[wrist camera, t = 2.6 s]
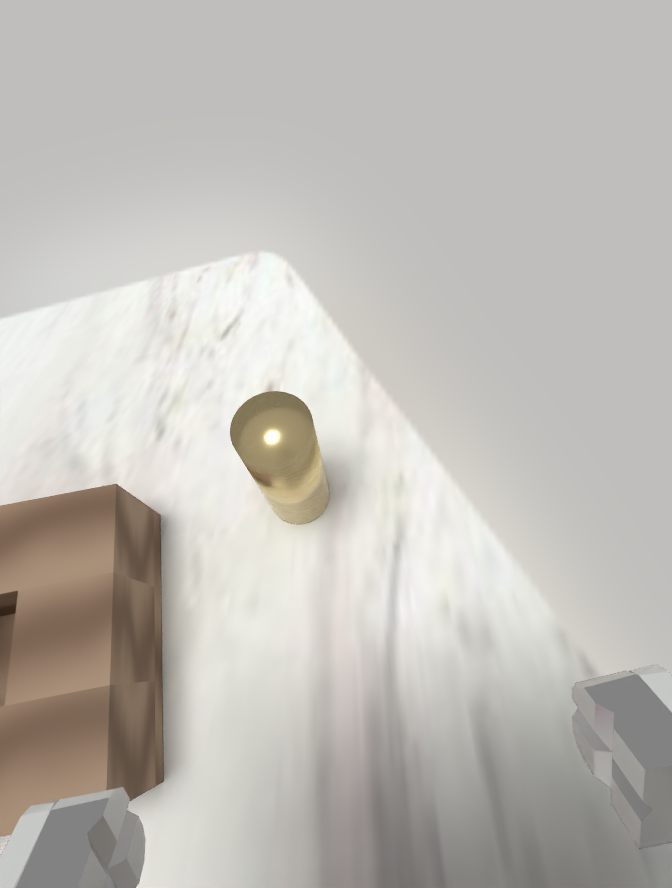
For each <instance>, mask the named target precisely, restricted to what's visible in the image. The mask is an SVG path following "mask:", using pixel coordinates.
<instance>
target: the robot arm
mask: <svg viewBox="0 0 672 888" xmlns="http://www.w3.org/2000/svg"><path fill="white" fill-rule="evenodd" d="M572 699H573V701H574V702H575V704H576V705H577V706H578V710H577V711H576V713H575V714H574V715H573V717H572V721H573V732H574V736H575V739H576V742H577V745H578V748H579V750H580V752H581V754H582V757H583V759H584V761H585V763H586V764H587V766H588V767H589V769H590V771H591V772H592V774H593V776H594V777H595V778H597V779H598V780H600V781H602V782H603V783H605V784H606V785H608V786H609V787H611V805H612V806H613V808H614V809H615V811H616V813H617V814H618V816H619V817H620V819H621V821H622V822H623V824H624V825H625V827H626V828H627V830H628V832H629V833H630V835H631V836H632V838H633V840H634V841H635V843H636V844H637V846H638V847H639V849H642V848H647V847H652V846H657V845H662V844H667V843H672V675H671V674H670V673H669V672H668V671H667V670H666V669H664V668H663V667H661V666H659V665H652V666H648V667H644V668H639V669H635V670H631V671H623V672H619V673H615V674H610V675H606V676H602V677H598V678H594V679H590V680H586V681H582V682H578V683H575V685H574V686H573V688H572ZM129 801H130V798H129V797H128V795H127V793H126V791H125V790H124V788H123V787H120V788H115V789H110V790H105V791H100V792H95V793H90V794H85V795H80V796H75V797H70V798H65V799H59V800H55V801H50V802H45V803H41V804H36V805H32V806H30V807H29V808H28V809H27V810H26V811H25V812H24V814H23V815H22V816H21V817H20V819H19V821H18V823H17V825H16V827H15V828H14V830H13V832H12V834H11V836H10V838H9V840H8V842H7V844H6V846H5V848H4V850H3V852H2V854H1V856H0V888H136V886H137V885H138V884H139V881H140V877H141V873H142V868H143V864H144V855H145V835H144V829H143V825H142V823H141V821H140V818H139V816H137V815H135V814H133V813H131V812H129V811H127V808H128V804H129Z"/></svg>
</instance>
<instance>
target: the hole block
mask: <svg viewBox="0 0 672 888" xmlns="http://www.w3.org/2000/svg"><path fill="white" fill-rule="evenodd" d="M162 782H163V708H162V626H161V543H160V514H158V513H157V512H155V511H154V510H153V509H151V508H150V507H148V506H147V505H146V504H144V503H143V502H141V501H140V500H138V499H137V498H136V497H134V496H133V495H131V494H130V493H129V492H127V491H126V490H124V489H123V488H121V487H120V486H119V485H117V484H113V485H107V486H102V487H97V488H92V489H86V490H81V491H76V492H71V493H65V494H60V495H55V496H49V497H44V498H39V499H34V500H28V501H23V502H18V503H13V504H7V505H2V506H0V836H5V835H10V834H12V832H13V830H14V828H15V827H16V825H17V823H18V821H19V819H20V817H21V816H22V815H23V814H24V812H25V811H26V810H27V809H28V808H29V807H30V806H32V805H36V804H41V803H45V802H50V801H55V800H59V799H65V798H70V797H75V796H80V795H85V794H90V793H95V792H100V791H105V790H110V789H115V788H120V787H123V788H124V790H125V791H126V793H127V795H128V797H129V798H130V801H131V800H133V799H134V798H136V797H138V796H139V795H141V794H143V793H145V792H146V791H148V790H150V789H152V788H153V787H155V786H157V785H158V784H160V783H162Z"/></svg>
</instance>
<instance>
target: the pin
mask: <svg viewBox="0 0 672 888" xmlns="http://www.w3.org/2000/svg"><path fill="white" fill-rule="evenodd" d="M230 436H231V441H232V444H233V446H234V448H235V450H236V451H237V453H238V455H239V456H240V458H241V459H242V461H243V463H244V464H245V466H246V467H247V469H248V471H249V472H250V474H251V475H252V477H253V478H254V480H255V482H256V483H257V485H258V486H259V488H260V490H261V491H262V493H263V494H264V496H265V498H266V499H267V501H268V502H269V504H270V506H271V507H272V509H273V510H274V512H275V513H276V515H277V516H278V517H279V518H281V519H282V520H284V521H285V522H288V523H291V524H305V523H309V522H311V521H313V520H315V519H316V518H318V517H319V516H320V515H321V514H322V513H323V512H324V510H325V509H326V507H327V504H328V501H329V488H328V484H327V480H326V475H325V471H324V467H323V462H322V458H321V454H320V449H319V445H318V441H317V436H316V432H315V428H314V424H313V419H312V415H311V413H310V410H309V409H308V407H307V406H306V405H305V403H304V402H303V401H301V400H300V399H299V398H297V397H296V396H294V395H292V394H289V393H285V392H278V391H272V392H266V393H262V394H259V395H256V396H254V397H252V398H251V399H249V400H247V401H246V402H245V403H244V404H243V405H242V406H241V407H240V408H239V409H238V410H237V412H236V414H235V415H234V417H233V420H232V423H231V428H230Z"/></svg>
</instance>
